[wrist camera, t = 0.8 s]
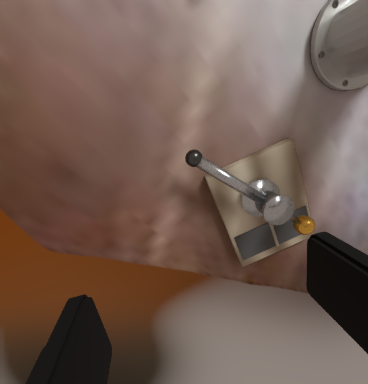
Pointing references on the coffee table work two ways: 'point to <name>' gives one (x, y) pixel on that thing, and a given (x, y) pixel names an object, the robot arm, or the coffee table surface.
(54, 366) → the robot arm
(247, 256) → the stand
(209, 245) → the coffee table surface
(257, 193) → the ball-knob lever handle
